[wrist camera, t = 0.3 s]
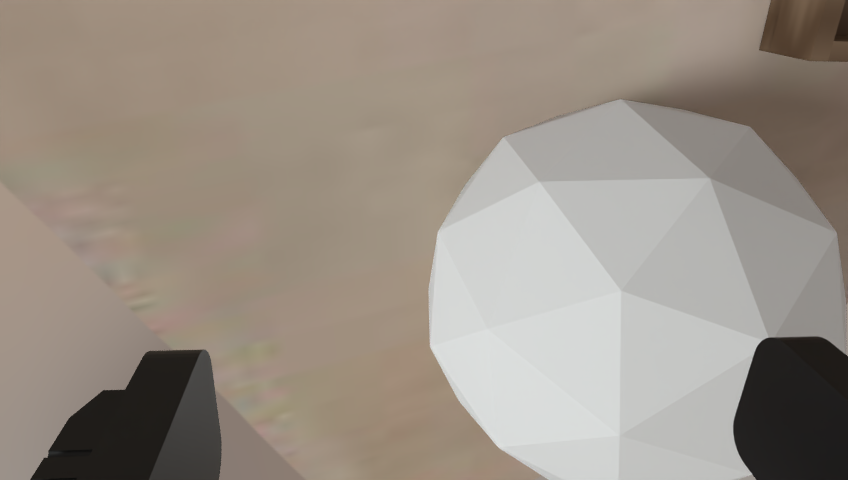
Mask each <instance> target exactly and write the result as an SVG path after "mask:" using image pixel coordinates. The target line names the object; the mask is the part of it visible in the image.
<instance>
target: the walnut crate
mask: <svg viewBox="0 0 848 480" xmlns="http://www.w3.org/2000/svg"><path fill="white" fill-rule="evenodd" d="M759 50H762V51H766V52H771V53H775V54H780V55H785V56H789V57H794V58H798V59H803V60H808V61H839V62H848V0H771V3H770V7H769V12H768V16H767V20H766V24H765V28H764V32H763V37H762V41H761V45H760V49H759Z"/></svg>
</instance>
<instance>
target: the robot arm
mask: <svg viewBox="0 0 848 480" xmlns="http://www.w3.org/2000/svg"><path fill="white" fill-rule="evenodd" d="M733 435H734V441H735V445H736V448H737V451H738V453H739V456H740V457H741V459H742V461H743V462H744V464H745V465H746V467H747V468H748V469H749V471H750V472H751V473H752V475H753V476H754V477H755V478H756V480H848V356H847V355H846V354H844V353H843V352H842V351H841V350H839V349H838V348H837V347H836V346H835V345H833V344H832V343H831V342H830V341H828V340H827V339H825V338H822V337H818V336H808V337H769V338H766V339H764V340H762V341H761V342H760V343H759V344H758V346H757V348H756V350H755V352H754V356H753V359H752V362H751V365H750V368H749V372H748V375H747V378H746V381H745V385H744V388H743V391H742V394H741V398H740V401H739V404H738V407H737V411H736V414H735V417H734V422H733ZM220 466H221V434H220V426H219V419H218V410H217V403H216V395H215V387H214V380H213V372H212V365H211V359H210V356H209V353H208V352H207V351H206V350H172V351H149V352H147V353H146V354H145V355H144V356H143V358H142V360H141V362H140V364H139V365H138V367H137V369H136V371H135V373H134V375H133V376H132V378H131V380H130V382H129V384H128V386H127V387H126V389H125V390H103V391H102V392H101V393H100V394H98V395H97V396H96V397H95V398H93V399H92V400H91V401H90V402H88V403H87V404H86V405H85V406H84V407H82V408H81V409H80V410H79V411H77V412H76V413H75V414H74V415H73V416H71V417H70V418H69V419H68V421H67V422H66V424H65V426H64V427H63V429H62V430H61V432H60V434H59V435H58V437H57V438H56V440H55V441H54V443H53V445H52V446H51V448H50V450H49V454H48V458H44V459H43V461H42V462H41V464H40V465H39V467H38V468H37V470H36V472H35V473H34V475H33V476H32V478H31V480H219V474H220Z"/></svg>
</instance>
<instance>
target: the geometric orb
mask: <svg viewBox="0 0 848 480" xmlns="http://www.w3.org/2000/svg"><path fill="white" fill-rule="evenodd" d="M429 325H430V347H431V349H432V351H433V353H434V355H435V357H436V359H437V361H438V363H439V364H440V366H441V368H442V370H443V372H444V374H445V376H446V378H447V380H448V381H449V383H450V385H451V387H452V389H453V391H454V393H455V395H456V396H457V398H458V400H459V402H460V403H461V404H462V405H463V406H464V408H465V409H466V410H467V411H468V412H469V413H470V415H471V416H472V417H473V418H474V419H475V420H476V422H477V423H478V424H479V425H480V426H481V428H482V429H483V430H484V431H485V432H486V433H487V435H488V436H489V437H490V438H491V439H492V440H493V442H494V443H495V444H496V445H497V446H498V448H500V449H502V450H503V451H505V452H506V453H508V454H509V455H511V456H513V457H514V458H516V459H517V460H519V461H520V462H522V463H523V464H525V465H527V466H528V467H530V468H531V469H533V470H534V471H536V472H537V473H539V474H541V475H542V476H544V477H545V478H547V479H548V480H738V479H741V478H744V477H747V476H750V475H752V473H751V472H750V471H749V469H748V468H747V467H746V465H745V464H744V462H743V461H742V459H741V457H740V456H739V453H738V451H737V448H736V445H735V441H734V435H733V422H734V417H735V414H736V411H737V407H738V404H739V401H740V398H741V394H742V391H743V388H744V385H745V381H746V378H747V375H748V372H749V368H750V365H751V362H752V359H753V356H754V352H755V350H756V348H757V346H758V344H759V343H760V342H761V341H762V340H764V339H766V338H769V337H808V336H818V337H822V338H825V339H827V340H828V341H830V342H831V343H832V344H833V345H835V346H836V347H837V348H838V349H839V350H841V351H842V352H843V353H844V354H846V297H845V289H844V282H843V274H842V267H841V260H840V252H839V245H838V237H837V232H836V231H835V230H834V228H833V227H832V225H831V224H830V223H829V221H828V220H827V219H826V217H825V216H824V215H823V213H822V212H821V211H820V209H819V208H818V206H817V205H816V204H815V202H814V201H813V200H812V198H811V197H810V196H809V194H808V193H807V192H806V190H805V189H804V187H803V186H802V185H801V183H800V182H799V181H798V179H797V178H796V177H795V176H794V175H793V173H792V172H791V171H790V170H789V169H788V168H787V167H786V166H785V165H784V164H783V162H782V161H781V160H780V159H779V158H778V157H777V156H776V155H775V154H774V152H773V151H772V150H771V149H770V148H769V147H768V146H767V145H766V144H765V142H764V141H763V140H762V139H761V138H760V137H759V136H758V135H757V134H756V132H755V131H754V130H753V129H752V128H751V127H750V126H746V125H742V124H738V123H734V122H730V121H726V120H722V119H718V118H715V117H711V116H707V115H703V114H699V113H695V112H691V111H687V110H683V109H677V108H671V107H666V106H660V105H654V104H648V103H642V102H636V101H630V100H624V99H618V100H615V101H611V102H607V103H604V104H600V105H596V106H593V107H589V108H585V109H582V110H578V111H574V112H571V113H567V114H563V115H560V116H557V117H554V118H551V119H549V120H546V121H544V122H541V123H539V124H536V125H533V126H531V127H528V128H526V129H523V130H520V131H518V132H515V133H513V134H510V135H507V136H505V137H503V138H502V140H501V141H500V142H499V143H498V144H497V146H496V147H495V148H494V149H493V151H492V152H491V153H490V154H489V156H488V157H487V158H486V159H485V161H484V162H483V163H482V164H481V166H480V167H479V168H478V169H477V171H476V172H475V173H474V174H473V176H472V177H471V178H470V179H469V181H468V182H467V183H466V184H465V186H464V188H463V189H462V191H461V193H460V195H459V196H458V198H457V200H456V202H455V203H454V205H453V207H452V208H451V210H450V212H449V214H448V215H447V217H446V219H445V220H444V222H443V224H442V226H441V227H440V229H439V231H438V235H437V241H436V247H435V253H434V260H433V266H432V272H431V278H430V284H429Z"/></svg>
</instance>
